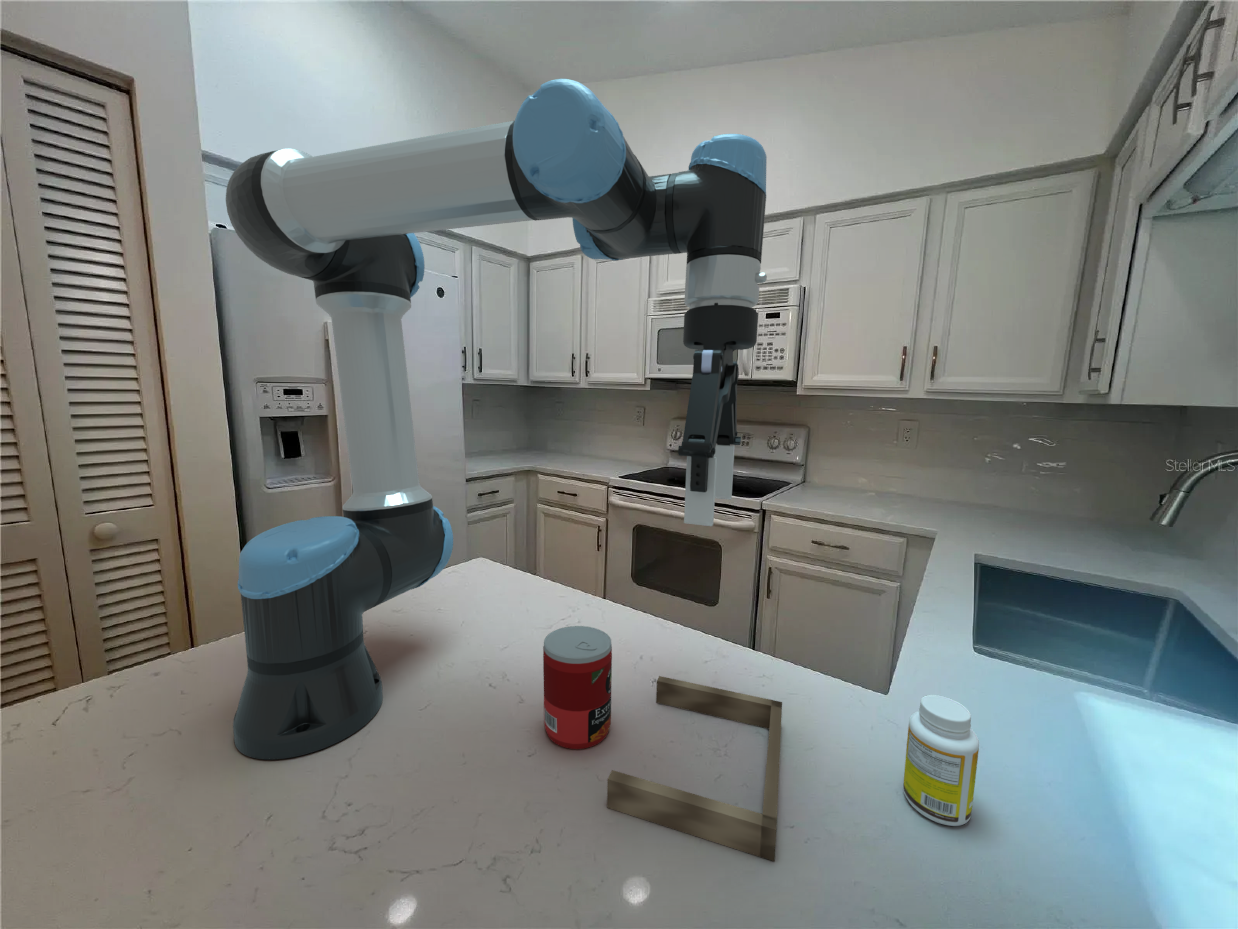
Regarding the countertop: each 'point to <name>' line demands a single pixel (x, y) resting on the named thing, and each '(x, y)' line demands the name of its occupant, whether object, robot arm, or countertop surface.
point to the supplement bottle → (941, 761)
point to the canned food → (577, 686)
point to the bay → (698, 811)
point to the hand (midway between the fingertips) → (710, 509)
